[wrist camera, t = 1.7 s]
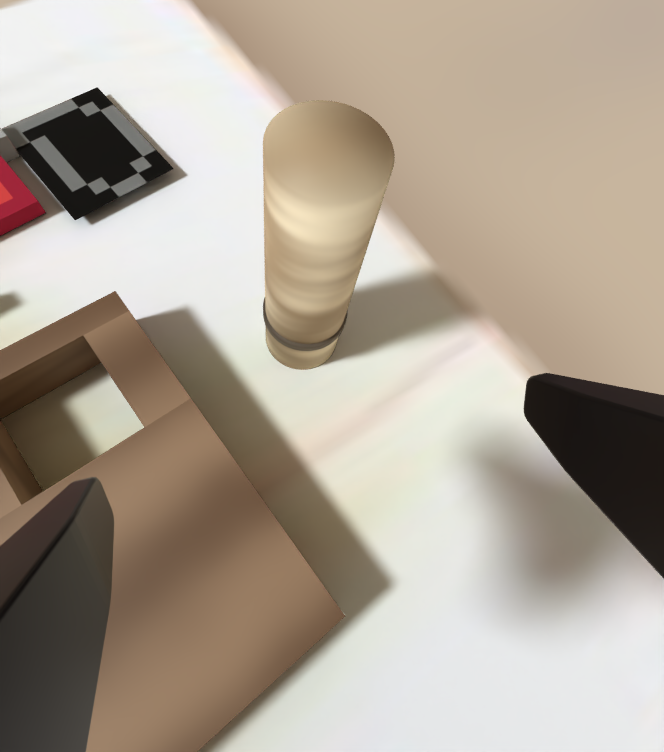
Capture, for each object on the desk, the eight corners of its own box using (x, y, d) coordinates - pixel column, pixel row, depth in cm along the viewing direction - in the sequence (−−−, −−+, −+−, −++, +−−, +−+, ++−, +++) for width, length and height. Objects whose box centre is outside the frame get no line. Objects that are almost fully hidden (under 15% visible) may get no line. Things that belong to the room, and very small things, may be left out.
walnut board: (335, 608, 21) (345, 616, 18) (87, 830, 17) (53, 883, 14) (132, 320, 25) (115, 291, 22) (-107, 450, 21) (-165, 434, 18)
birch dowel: (352, 345, 26) (425, 167, 14) (293, 385, 25) (316, 226, 13) (308, 292, 27) (340, 81, 15) (249, 328, 26) (231, 128, 14)
